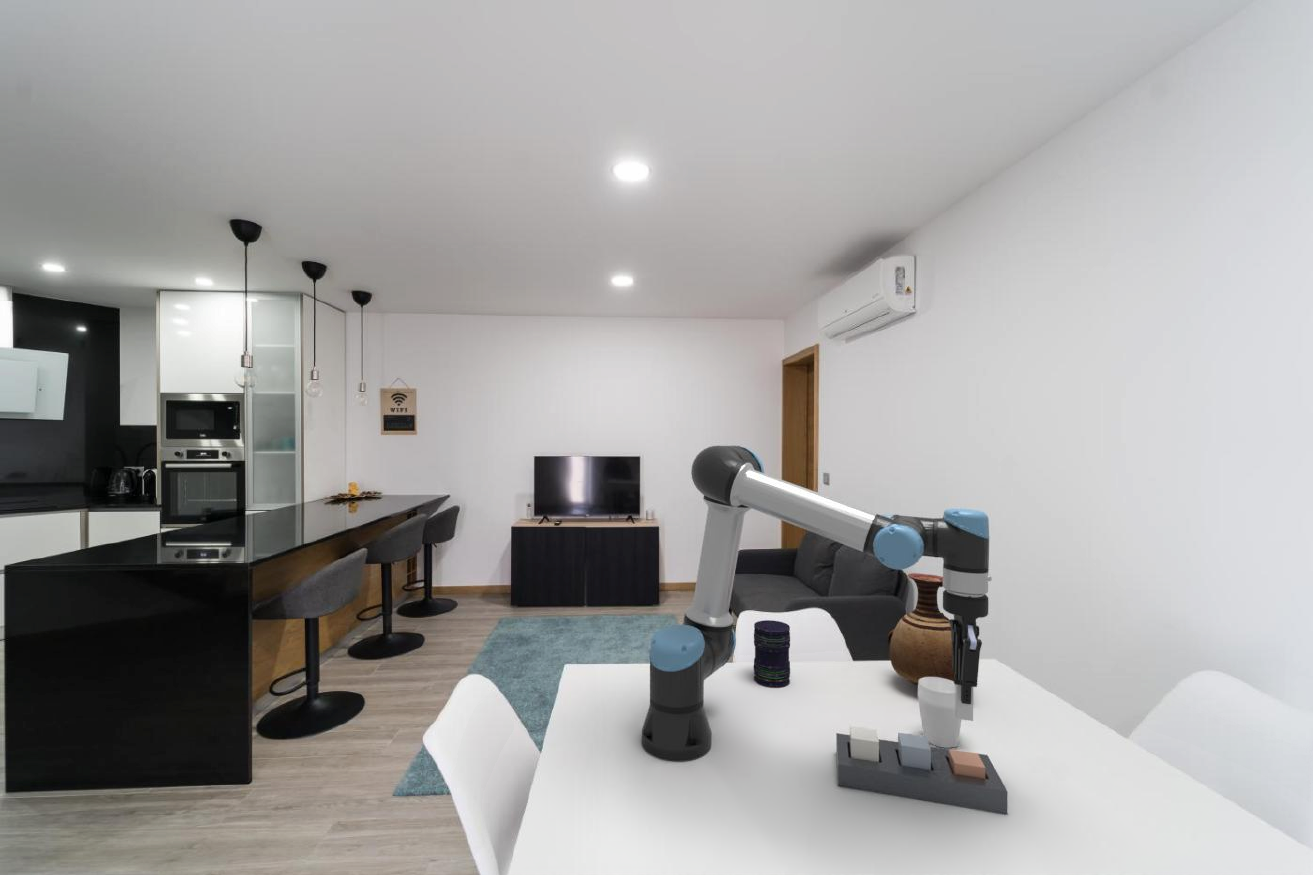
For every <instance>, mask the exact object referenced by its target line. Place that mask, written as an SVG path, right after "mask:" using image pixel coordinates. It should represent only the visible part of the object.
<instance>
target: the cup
mask: <svg viewBox="0 0 1313 875" xmlns="http://www.w3.org/2000/svg"><path fill="white" fill-rule="evenodd" d="M917 700H918V706H919V707H918V708H919V714H920V719H921V721H920V722H921V726H922V734H923V736H926V738H927V741H928V744H931V745H933V746H936V747H938V748H943V749H950V748H955V747H957V746H958V744H959V739H960V738H959V737H960V733H961V732H960V731H961V726H962V719H957V718H956V716H955V684H954V681H951V680H948V679H944V678H939V677H923V678H920V679H919V681H918V686H917Z"/></svg>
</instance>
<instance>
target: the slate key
mask: <svg viewBox="0 0 1313 875" xmlns="http://www.w3.org/2000/svg"><path fill="white" fill-rule="evenodd" d="M897 742H898V760H899V763H900V766H906V767H912V768H919V769H925V770H931V749H930V747H931V746H930V743H929V742H928V741H927V738H926V736H924V735H919V734H911V733H903V732H897Z"/></svg>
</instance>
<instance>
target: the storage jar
mask: <svg viewBox="0 0 1313 875" xmlns="http://www.w3.org/2000/svg"><path fill="white" fill-rule="evenodd" d="M753 625H754V626H753V627H754V628H753V629H754V630H753V631H754V632H753V645H754V658H753V674H754V676H753V681H754V682H755V683H756V684H757V685H759V686H762V687H765V688H771V689H780V688H785V687H788V686H789V685H790V683H791V682H790V681H791V679H790V676H791V675H790V674H791V662H790V648H791V633H790V631H791V630H790V629H791V626H790V625H789V624H788V623H785V622H783V621H778V620H772V619H771V620H770V619H766V620H759V621H756V622H754V624H753Z"/></svg>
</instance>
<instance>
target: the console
mask: <svg viewBox="0 0 1313 875" xmlns="http://www.w3.org/2000/svg"><path fill="white" fill-rule="evenodd" d="M835 734H836V737H835V738H836V740H835V741H836V750H835V751H836V768H837V785H838V787H842V788H848V789H849V788H850V789H853V790H854V789H855V790H859V791H866V792H872V793H878V794H884V795H890V796H896V797H902V798H907V799H908V798H909V799H913V800H918V801H920V800H921V801H926V802H932V803H938V804H943V805H949V806H953V807H954V806H956V807H960V808H967V809H973V810H979V811H984V812H990V813H995V814H1001V815H1002V814H1003V815H1009V814H1008V808H1009V807H1008V806H1009V805H1008V803H1009V802H1008V789H1007V788H1006V785H1005V784H1004V783H1003V780H1002V778H1000V775H999V773H998V772H997V770H996V768H995V767H994V764H993V763H992V761H991V759H990V757H989V756H988V754H983V753H978V755H979V757H980V759H981V760H982V762H983V764H984V766H985V779H983V778H977V777H970V776H964V775H957V774H952V772H951V769H950V767H949V749H950V748H943V747H937V746H936V747H934V746H930V749H931V770H925V769H919V768H912V767H906V766H900V763H899V760H898V741H893V740H887V739H879V738H878V740H879V762H874V761H867V760H861V759H854V758H851V757H850V734H845V733H844V734H843V733H835Z"/></svg>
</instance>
